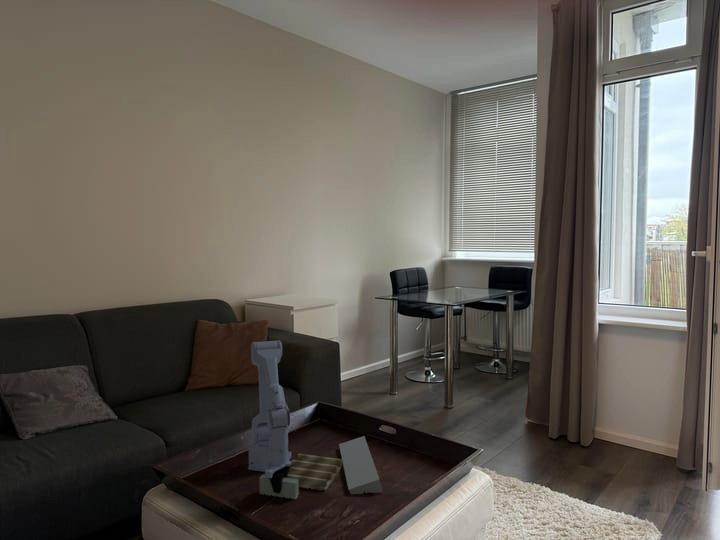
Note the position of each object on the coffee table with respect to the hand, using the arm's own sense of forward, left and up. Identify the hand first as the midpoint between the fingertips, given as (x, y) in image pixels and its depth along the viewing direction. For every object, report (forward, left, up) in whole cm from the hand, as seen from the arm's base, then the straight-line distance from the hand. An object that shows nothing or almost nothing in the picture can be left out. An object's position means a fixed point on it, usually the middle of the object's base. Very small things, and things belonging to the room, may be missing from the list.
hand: (279, 490), depth 155 cm
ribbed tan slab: (+5, +15, -1) cm, 15 cm away
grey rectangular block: (+19, +24, -2) cm, 30 cm away
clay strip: (0, 0, -1) cm, 1 cm away
